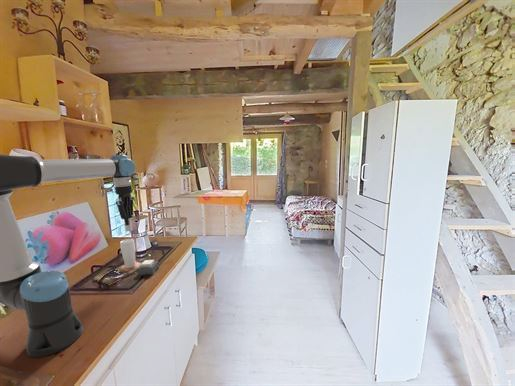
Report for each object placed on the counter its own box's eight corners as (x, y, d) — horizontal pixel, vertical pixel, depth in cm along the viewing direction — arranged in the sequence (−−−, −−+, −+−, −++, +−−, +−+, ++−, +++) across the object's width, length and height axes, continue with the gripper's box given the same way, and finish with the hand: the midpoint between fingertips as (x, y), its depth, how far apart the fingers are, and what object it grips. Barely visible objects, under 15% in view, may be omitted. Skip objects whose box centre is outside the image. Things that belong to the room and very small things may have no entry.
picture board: (109, 285, 118) (108, 283, 118) (94, 280, 125) (94, 277, 124) (148, 266, 137) (147, 264, 137) (133, 262, 144) (133, 260, 143)
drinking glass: (127, 270, 130) (123, 244, 128) (121, 267, 134) (117, 241, 132) (139, 265, 136) (136, 240, 133) (133, 262, 140) (130, 238, 137)
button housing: (153, 274, 127) (152, 267, 126) (138, 275, 127) (137, 268, 126) (159, 267, 135) (158, 260, 134) (144, 268, 135) (143, 261, 134)
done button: (151, 271, 128) (150, 263, 128) (141, 272, 128) (140, 264, 127) (155, 267, 133) (154, 259, 132) (146, 267, 133) (145, 260, 132)
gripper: (123, 187, 116) (129, 234, 119) (136, 183, 128) (142, 226, 132) (107, 187, 116) (114, 234, 119) (122, 184, 129) (128, 227, 132)
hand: (129, 230), depth 126 cm, fingers closed
